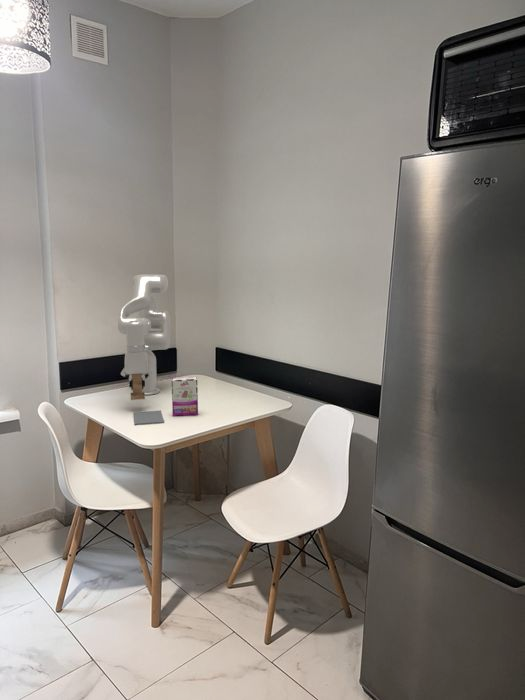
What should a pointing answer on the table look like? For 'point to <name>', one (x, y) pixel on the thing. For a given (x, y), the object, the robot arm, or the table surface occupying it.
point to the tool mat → (148, 417)
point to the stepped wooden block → (137, 387)
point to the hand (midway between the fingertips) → (137, 388)
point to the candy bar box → (184, 396)
